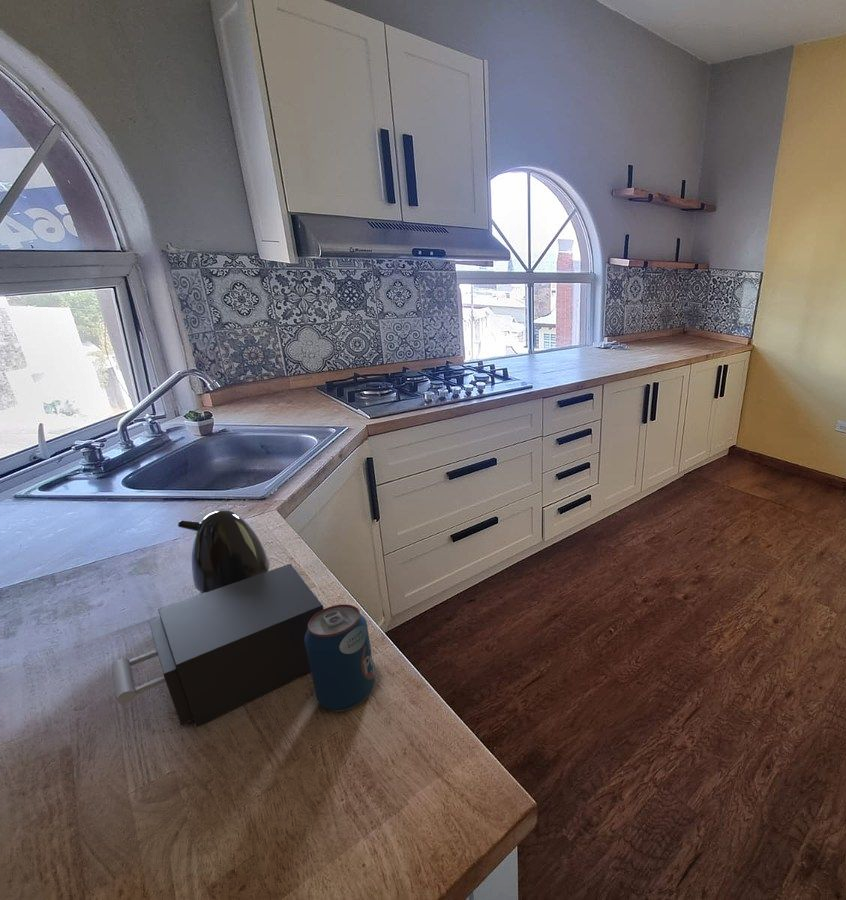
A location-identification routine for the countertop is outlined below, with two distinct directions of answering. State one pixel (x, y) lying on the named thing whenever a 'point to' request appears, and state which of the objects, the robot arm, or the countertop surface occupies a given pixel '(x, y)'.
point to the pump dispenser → (224, 551)
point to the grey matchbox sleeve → (240, 640)
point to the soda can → (340, 657)
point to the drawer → (171, 677)
